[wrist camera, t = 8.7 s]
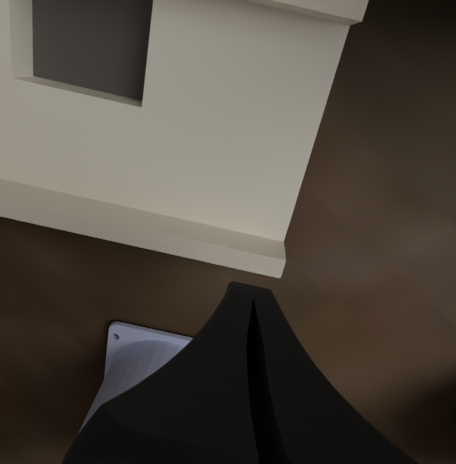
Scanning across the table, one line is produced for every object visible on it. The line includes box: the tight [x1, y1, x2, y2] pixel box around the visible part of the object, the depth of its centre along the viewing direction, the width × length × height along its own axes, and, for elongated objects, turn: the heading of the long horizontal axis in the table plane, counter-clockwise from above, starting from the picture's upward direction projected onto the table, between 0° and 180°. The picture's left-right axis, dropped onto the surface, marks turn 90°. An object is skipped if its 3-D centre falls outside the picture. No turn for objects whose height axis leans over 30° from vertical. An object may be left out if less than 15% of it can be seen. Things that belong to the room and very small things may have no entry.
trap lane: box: [0, 0, 369, 278], centre depth 17 cm, size 12×28×4 cm, turn 78°
